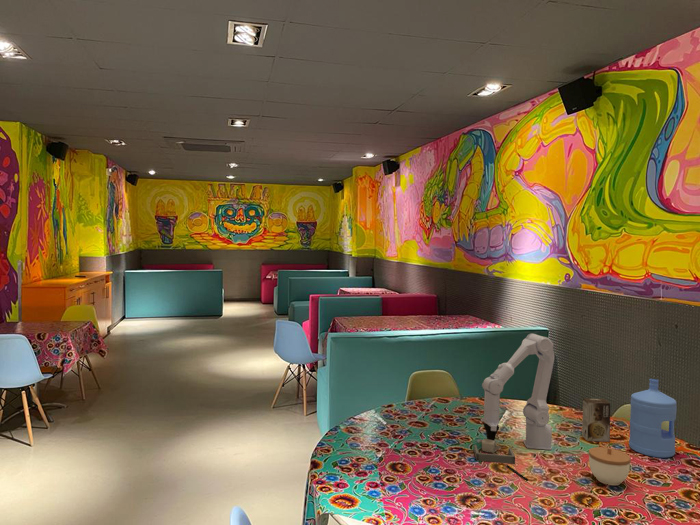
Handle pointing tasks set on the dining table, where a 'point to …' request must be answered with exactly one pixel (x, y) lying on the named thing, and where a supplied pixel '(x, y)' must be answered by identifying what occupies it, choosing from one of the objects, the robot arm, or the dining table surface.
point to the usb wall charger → (489, 446)
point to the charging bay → (495, 457)
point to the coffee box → (596, 420)
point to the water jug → (652, 422)
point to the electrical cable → (517, 473)
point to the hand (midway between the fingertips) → (490, 443)
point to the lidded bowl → (609, 465)
